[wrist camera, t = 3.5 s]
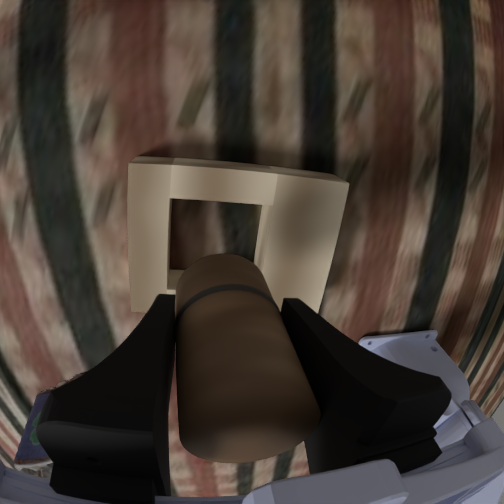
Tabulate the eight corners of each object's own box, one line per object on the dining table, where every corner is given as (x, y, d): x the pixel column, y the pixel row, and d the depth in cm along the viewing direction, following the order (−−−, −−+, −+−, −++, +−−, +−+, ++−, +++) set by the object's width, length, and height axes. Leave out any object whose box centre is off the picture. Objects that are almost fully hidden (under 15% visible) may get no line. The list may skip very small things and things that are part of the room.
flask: (87, 367, 23) (62, 477, 14) (110, 388, 25) (94, 494, 15) (31, 393, 24) (3, 481, 14) (51, 411, 25) (30, 497, 16)
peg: (274, 253, 14) (340, 380, 8) (260, 329, 15) (302, 455, 9) (174, 250, 13) (174, 393, 7) (174, 329, 15) (180, 466, 8)
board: (332, 174, 20) (349, 183, 18) (306, 296, 23) (316, 316, 21) (137, 156, 17) (128, 163, 15) (136, 290, 21) (131, 311, 19)
